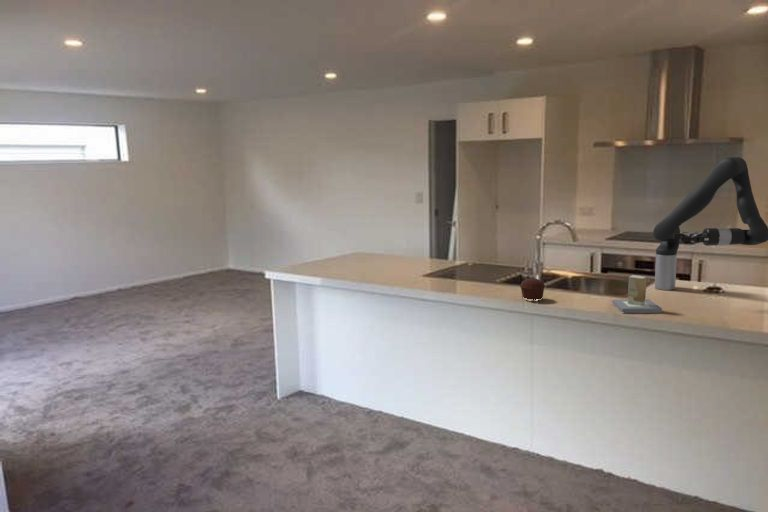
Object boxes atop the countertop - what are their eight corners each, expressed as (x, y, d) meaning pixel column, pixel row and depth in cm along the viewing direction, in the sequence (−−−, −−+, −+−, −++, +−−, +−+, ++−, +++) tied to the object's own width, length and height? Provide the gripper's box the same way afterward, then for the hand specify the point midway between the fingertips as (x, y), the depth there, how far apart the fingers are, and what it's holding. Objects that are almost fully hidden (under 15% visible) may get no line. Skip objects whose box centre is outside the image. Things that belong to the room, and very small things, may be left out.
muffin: (547, 298, 279) (548, 277, 277) (541, 303, 269) (541, 282, 268) (523, 296, 285) (523, 276, 283) (516, 301, 276) (516, 280, 274)
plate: (612, 303, 263) (612, 299, 263) (649, 303, 261) (649, 299, 261) (622, 313, 248) (622, 308, 247) (661, 312, 246) (661, 308, 245)
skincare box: (627, 303, 255) (627, 276, 253) (631, 301, 258) (632, 274, 256) (642, 306, 250) (643, 278, 248) (646, 304, 253) (647, 276, 251)
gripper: (710, 226, 258) (671, 227, 260) (724, 230, 244) (684, 231, 246) (709, 242, 259) (670, 243, 261) (723, 247, 245) (683, 248, 247)
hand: (677, 237), depth 253 cm, fingers open, 8 cm apart
